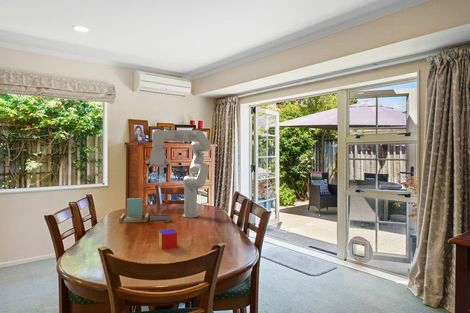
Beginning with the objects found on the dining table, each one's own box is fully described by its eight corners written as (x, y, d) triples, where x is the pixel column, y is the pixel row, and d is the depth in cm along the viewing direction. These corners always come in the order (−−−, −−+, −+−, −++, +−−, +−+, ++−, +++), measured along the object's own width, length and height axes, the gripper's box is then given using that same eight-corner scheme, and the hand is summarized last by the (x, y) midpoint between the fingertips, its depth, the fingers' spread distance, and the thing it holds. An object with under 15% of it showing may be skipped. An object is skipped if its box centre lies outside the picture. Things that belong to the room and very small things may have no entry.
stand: (150, 220, 227) (150, 214, 227) (170, 219, 229) (170, 214, 229) (149, 222, 219) (149, 217, 219) (170, 222, 222) (170, 216, 222)
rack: (123, 219, 229) (123, 213, 229) (148, 218, 232) (148, 212, 232) (119, 224, 213) (119, 218, 213) (146, 223, 217) (146, 217, 217)
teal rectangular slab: (127, 219, 223) (127, 198, 223) (141, 219, 225) (141, 198, 225) (126, 220, 221) (126, 199, 221) (141, 219, 223) (141, 198, 223)
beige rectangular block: (125, 220, 220) (125, 216, 220) (142, 220, 222) (142, 215, 222) (123, 222, 214) (123, 217, 214) (142, 221, 217) (142, 217, 217)
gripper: (172, 148, 217) (171, 173, 217) (147, 148, 217) (146, 172, 217) (169, 148, 209) (169, 173, 209) (143, 147, 210) (143, 173, 210)
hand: (157, 173), depth 213 cm, fingers open, 9 cm apart
